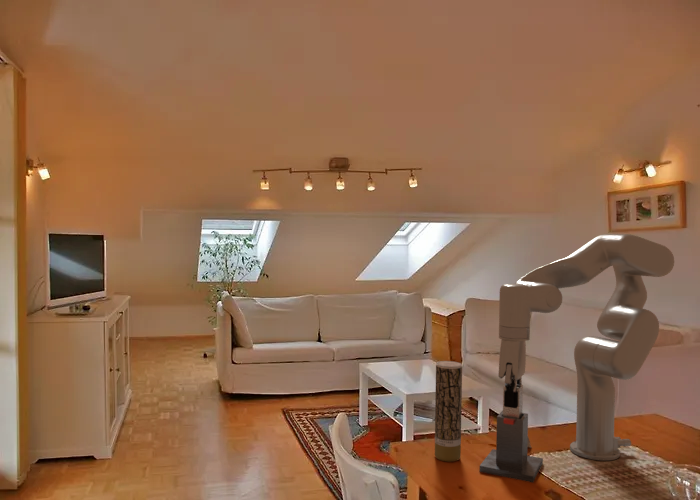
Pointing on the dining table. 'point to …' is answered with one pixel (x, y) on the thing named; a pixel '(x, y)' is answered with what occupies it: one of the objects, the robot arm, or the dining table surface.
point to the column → (517, 411)
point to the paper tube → (448, 411)
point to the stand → (512, 451)
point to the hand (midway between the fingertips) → (512, 404)
